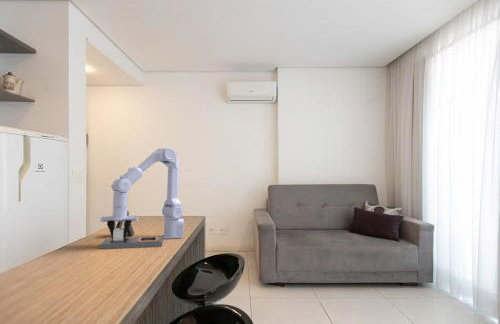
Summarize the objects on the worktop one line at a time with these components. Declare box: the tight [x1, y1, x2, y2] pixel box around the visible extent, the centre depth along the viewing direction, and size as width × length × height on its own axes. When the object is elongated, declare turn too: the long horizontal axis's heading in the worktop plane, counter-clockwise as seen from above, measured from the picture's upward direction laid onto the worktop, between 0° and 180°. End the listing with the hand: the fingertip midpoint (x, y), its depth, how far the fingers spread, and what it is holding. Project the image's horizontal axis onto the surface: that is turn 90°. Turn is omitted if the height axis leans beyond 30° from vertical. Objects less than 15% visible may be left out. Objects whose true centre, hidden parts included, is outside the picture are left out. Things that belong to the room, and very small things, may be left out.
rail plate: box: [100, 236, 164, 250], centre depth 124 cm, size 24×10×2 cm, turn 106°
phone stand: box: [115, 210, 135, 238], centre depth 142 cm, size 9×6×12 cm, turn 100°
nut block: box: [113, 227, 125, 242], centre depth 123 cm, size 4×4×7 cm
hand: (118, 238), depth 123 cm, fingers closed on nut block, 4 cm apart
